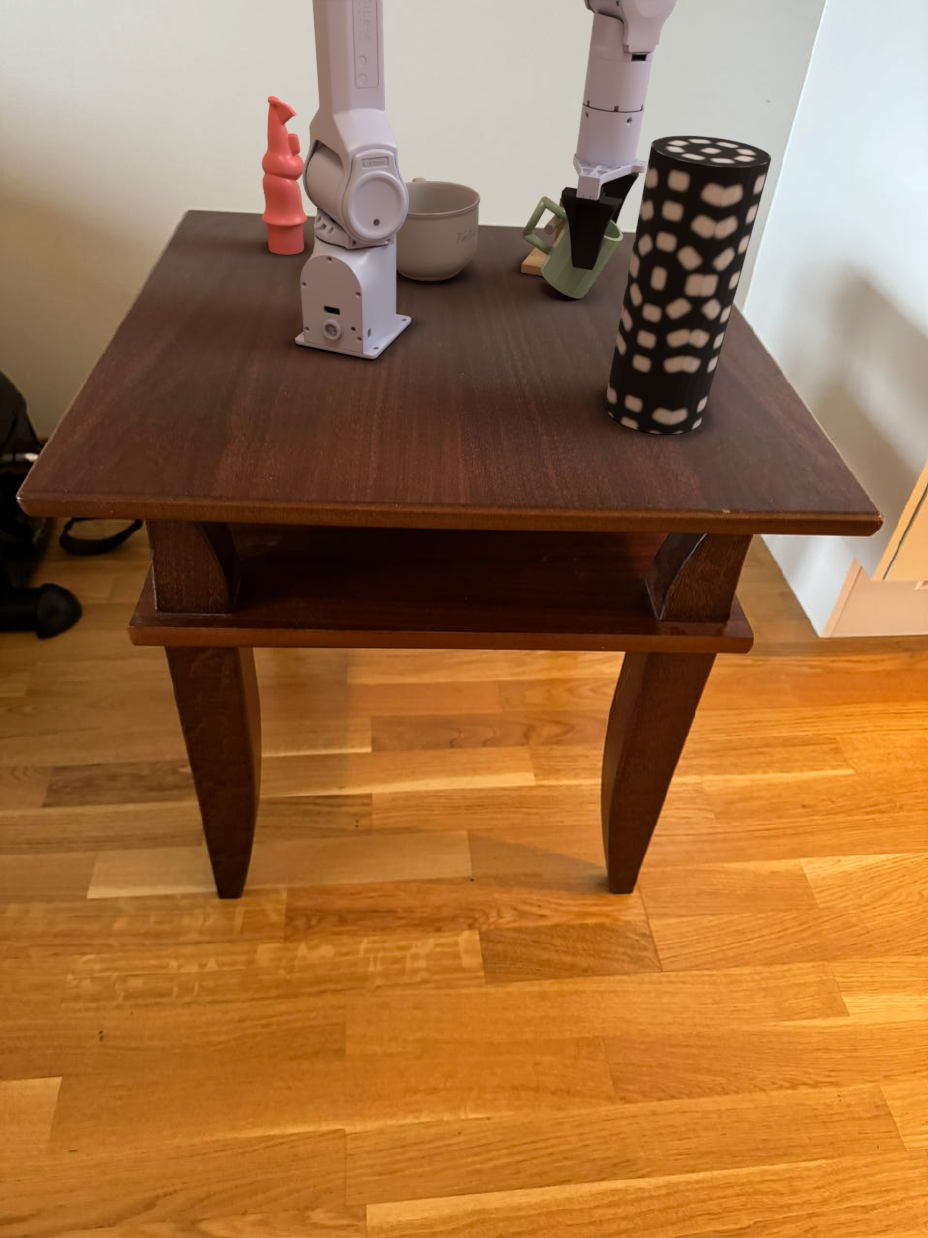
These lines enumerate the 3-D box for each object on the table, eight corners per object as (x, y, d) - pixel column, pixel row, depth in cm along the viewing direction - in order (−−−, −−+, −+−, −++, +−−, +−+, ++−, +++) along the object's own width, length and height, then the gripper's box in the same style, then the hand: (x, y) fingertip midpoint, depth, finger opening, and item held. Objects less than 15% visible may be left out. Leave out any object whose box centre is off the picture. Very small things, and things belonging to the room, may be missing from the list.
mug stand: (559, 302, 91) (569, 222, 86) (504, 292, 92) (511, 212, 87) (584, 264, 100) (595, 189, 95) (534, 255, 101) (542, 180, 96)
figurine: (320, 247, 99) (312, 96, 89) (290, 259, 96) (278, 104, 86) (285, 237, 101) (273, 88, 91) (255, 249, 98) (239, 95, 88)
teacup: (474, 293, 91) (480, 212, 86) (371, 286, 91) (370, 205, 86) (476, 247, 102) (480, 173, 97) (383, 242, 102) (383, 167, 96)
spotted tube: (636, 378, 78) (686, 129, 65) (719, 410, 75) (790, 153, 62) (585, 409, 73) (628, 147, 60) (672, 445, 70) (738, 174, 57)
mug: (590, 287, 95) (627, 230, 90) (579, 305, 91) (617, 246, 86) (521, 238, 94) (555, 178, 89) (506, 254, 90) (541, 193, 85)
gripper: (642, 127, 75) (615, 285, 84) (667, 96, 85) (641, 240, 94) (563, 116, 76) (545, 273, 85) (596, 87, 87) (577, 230, 96)
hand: (591, 255), depth 90 cm, fingers open, 7 cm apart
